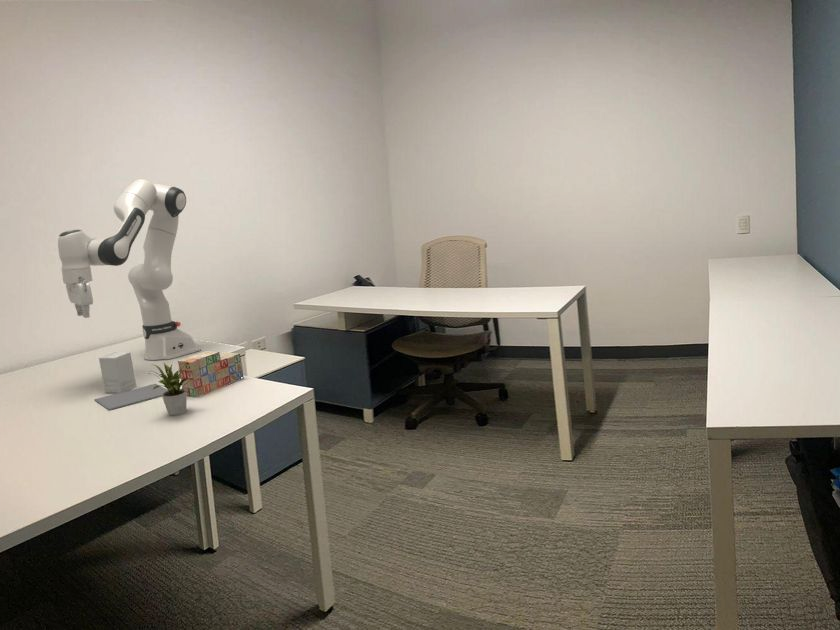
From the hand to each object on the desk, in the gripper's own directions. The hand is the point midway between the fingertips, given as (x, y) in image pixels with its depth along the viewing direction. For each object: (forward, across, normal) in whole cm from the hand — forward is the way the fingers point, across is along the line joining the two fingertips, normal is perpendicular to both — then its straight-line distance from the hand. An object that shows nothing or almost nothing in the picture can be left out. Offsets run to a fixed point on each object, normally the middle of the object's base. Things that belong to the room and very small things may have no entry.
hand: (83, 316), depth 216 cm
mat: (+26, -24, -7) cm, 36 cm away
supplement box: (+26, -11, -6) cm, 29 cm away
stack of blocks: (+26, -36, -30) cm, 54 cm away
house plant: (+28, -52, -10) cm, 60 cm away
